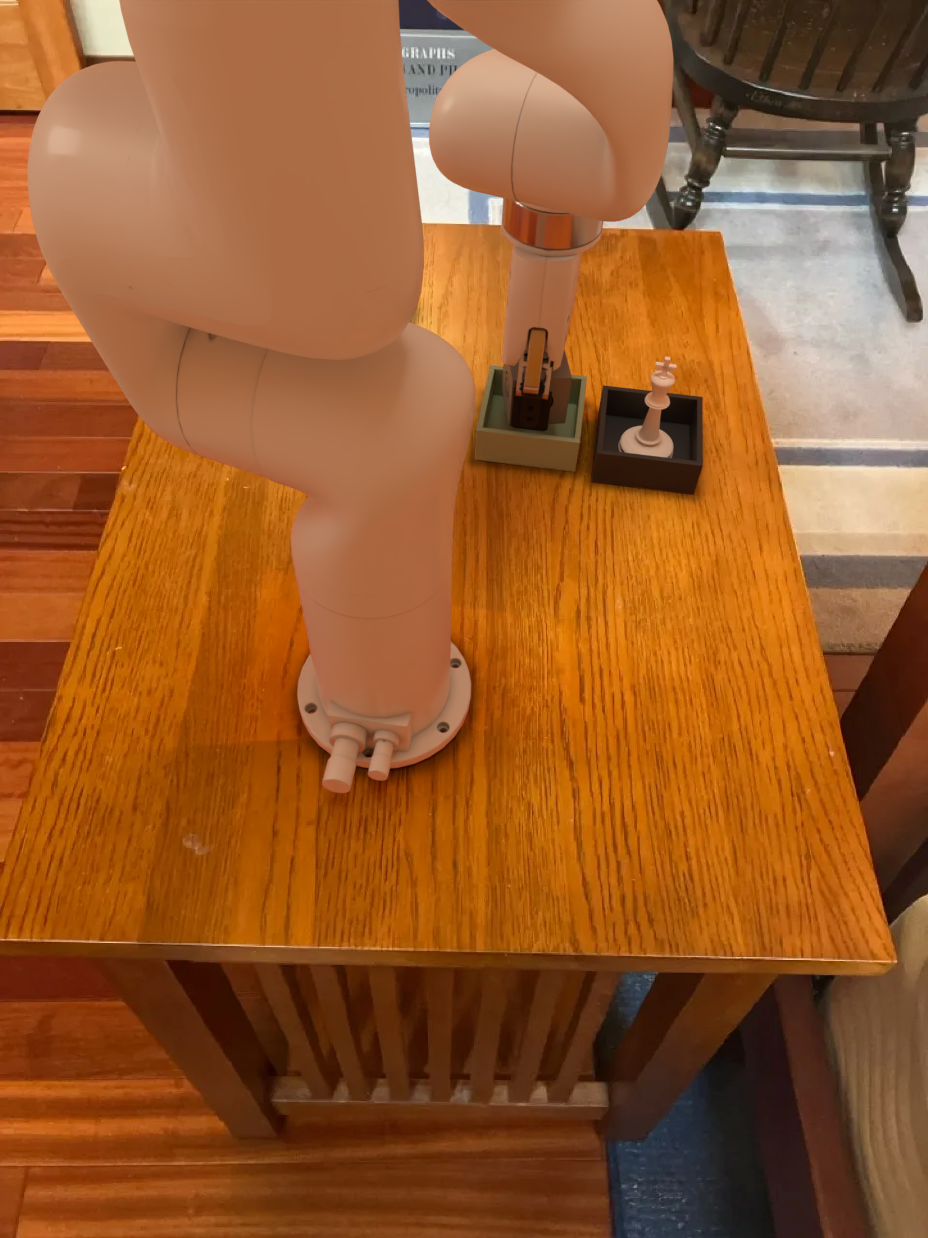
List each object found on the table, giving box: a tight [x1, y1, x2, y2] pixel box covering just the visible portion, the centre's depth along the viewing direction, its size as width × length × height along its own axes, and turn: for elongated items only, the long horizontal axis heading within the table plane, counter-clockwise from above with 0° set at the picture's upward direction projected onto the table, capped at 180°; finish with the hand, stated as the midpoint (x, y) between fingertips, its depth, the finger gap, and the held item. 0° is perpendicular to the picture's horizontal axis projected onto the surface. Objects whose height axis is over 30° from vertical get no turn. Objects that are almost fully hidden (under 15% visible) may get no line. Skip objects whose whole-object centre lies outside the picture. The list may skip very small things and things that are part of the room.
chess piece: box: [618, 356, 678, 458], centre depth 80 cm, size 5×5×10 cm
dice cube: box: [502, 349, 572, 426], centre depth 81 cm, size 5×5×5 cm
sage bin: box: [474, 364, 588, 473], centre depth 84 cm, size 9×9×4 cm
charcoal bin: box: [590, 385, 704, 495], centre depth 83 cm, size 9×9×4 cm
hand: (533, 401), depth 83 cm, fingers closed on dice cube, 5 cm apart
